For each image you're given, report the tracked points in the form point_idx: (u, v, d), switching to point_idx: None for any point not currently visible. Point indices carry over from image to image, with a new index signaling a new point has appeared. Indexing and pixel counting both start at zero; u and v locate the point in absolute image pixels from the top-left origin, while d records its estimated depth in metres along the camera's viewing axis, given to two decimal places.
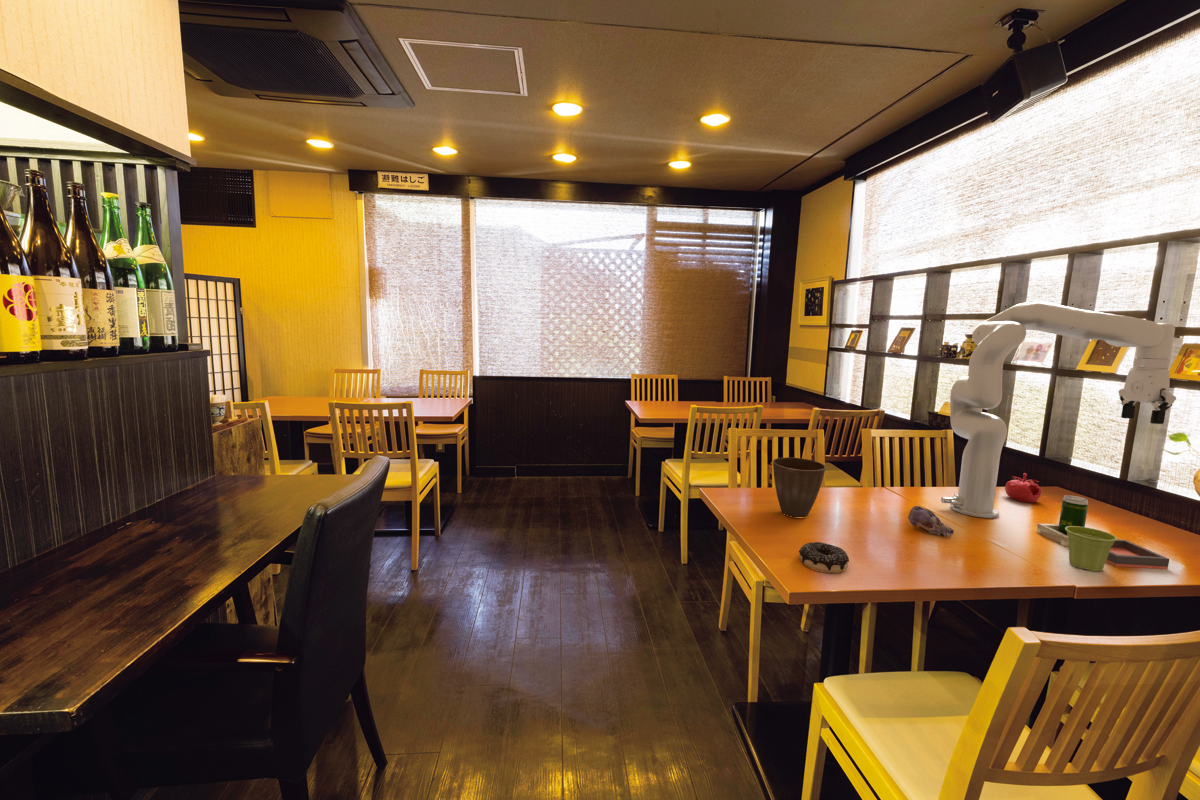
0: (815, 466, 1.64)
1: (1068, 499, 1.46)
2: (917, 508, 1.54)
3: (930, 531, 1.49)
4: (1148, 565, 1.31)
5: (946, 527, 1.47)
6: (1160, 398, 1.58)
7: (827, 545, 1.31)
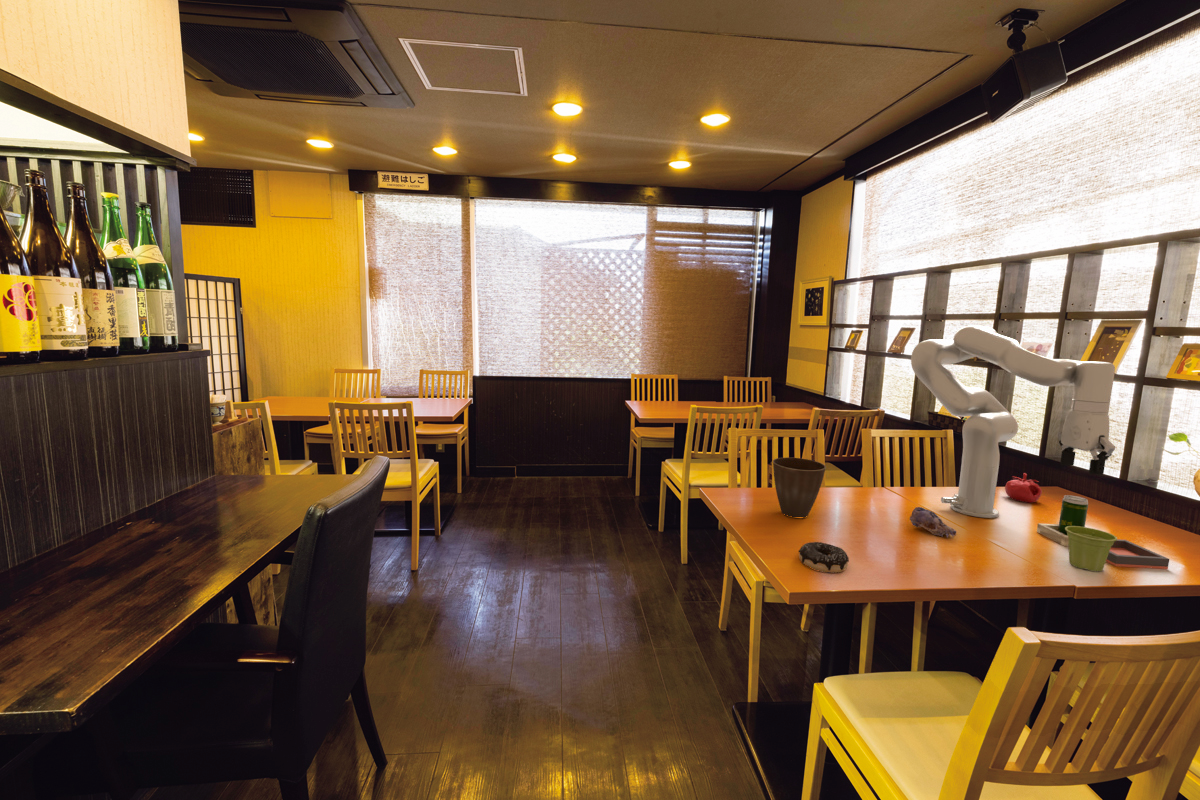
0: (815, 466, 1.64)
1: (1068, 499, 1.46)
2: (919, 510, 1.53)
3: (933, 532, 1.48)
4: (1148, 565, 1.31)
5: (949, 528, 1.47)
6: (1099, 446, 1.41)
7: (827, 545, 1.31)
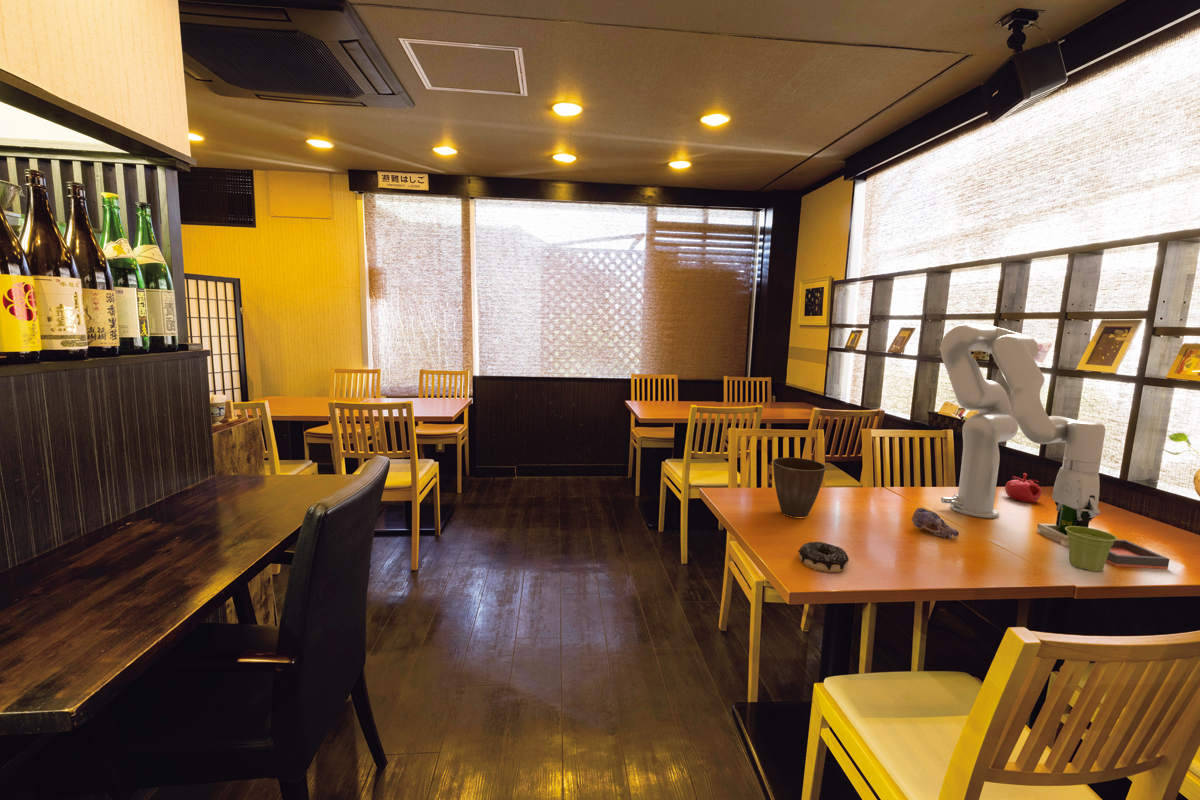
0: (815, 466, 1.64)
1: None
2: (921, 511, 1.52)
3: (935, 533, 1.48)
4: (1148, 565, 1.31)
5: (951, 529, 1.46)
6: (1087, 506, 1.44)
7: (827, 545, 1.31)
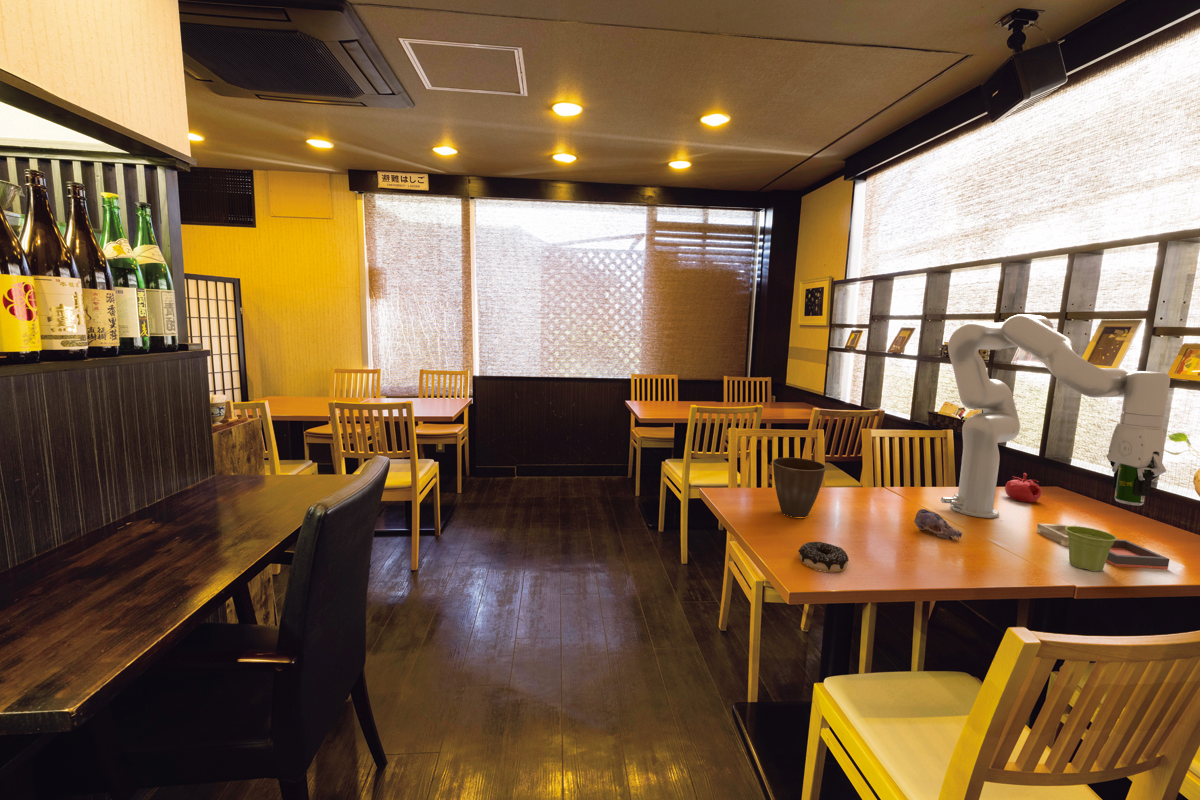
0: (815, 466, 1.64)
1: None
2: (924, 512, 1.51)
3: (938, 534, 1.47)
4: (1148, 565, 1.31)
5: (954, 530, 1.45)
6: (1150, 464, 1.31)
7: (827, 545, 1.31)
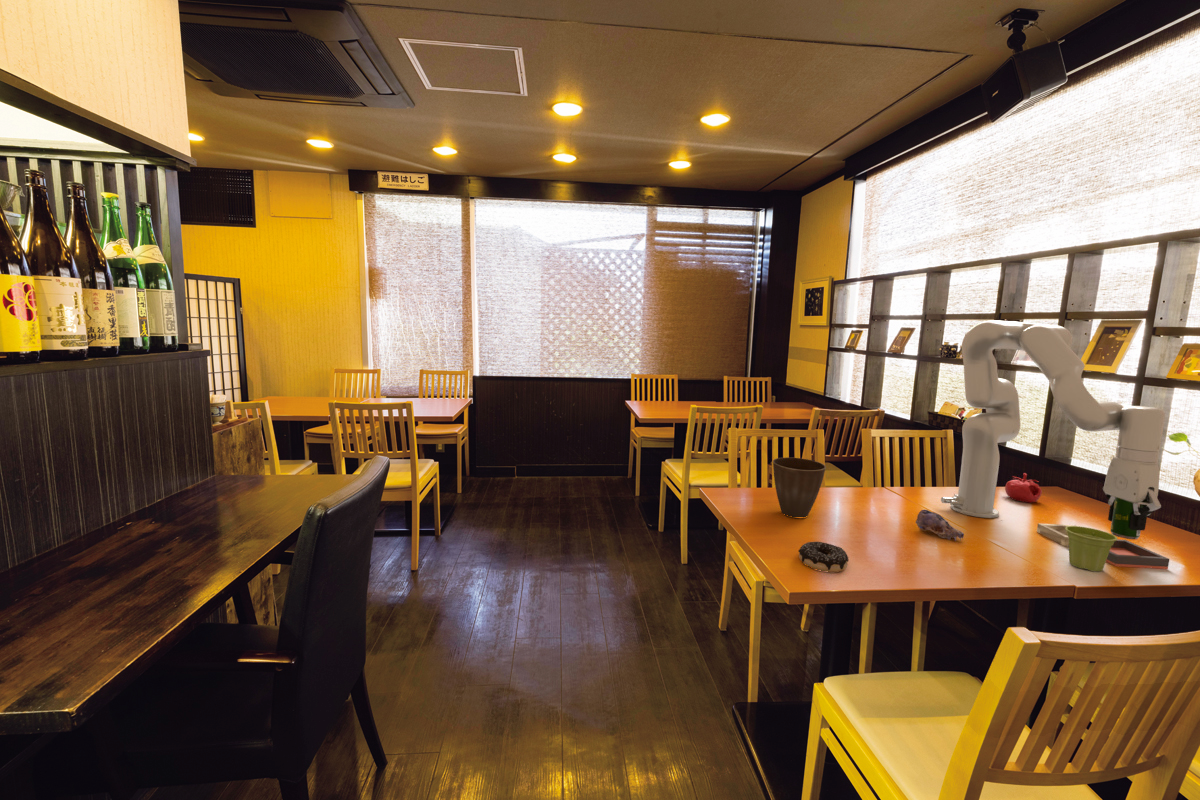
0: (815, 466, 1.64)
1: None
2: (925, 512, 1.51)
3: (940, 535, 1.46)
4: (1148, 565, 1.31)
5: (956, 531, 1.45)
6: (1145, 498, 1.32)
7: (827, 544, 1.31)
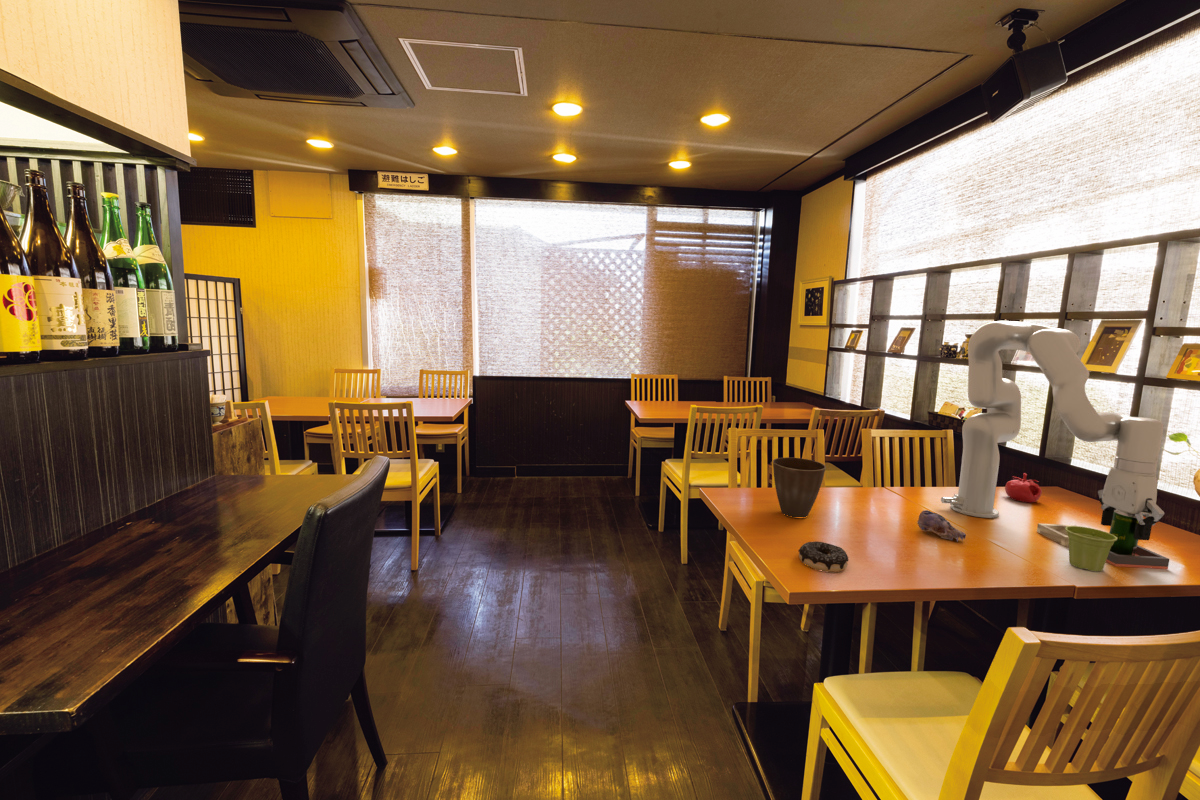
0: (815, 466, 1.64)
1: (1121, 511, 1.35)
2: (927, 513, 1.50)
3: (942, 536, 1.46)
4: (1148, 565, 1.31)
5: (958, 532, 1.44)
6: (1146, 509, 1.32)
7: (827, 544, 1.31)
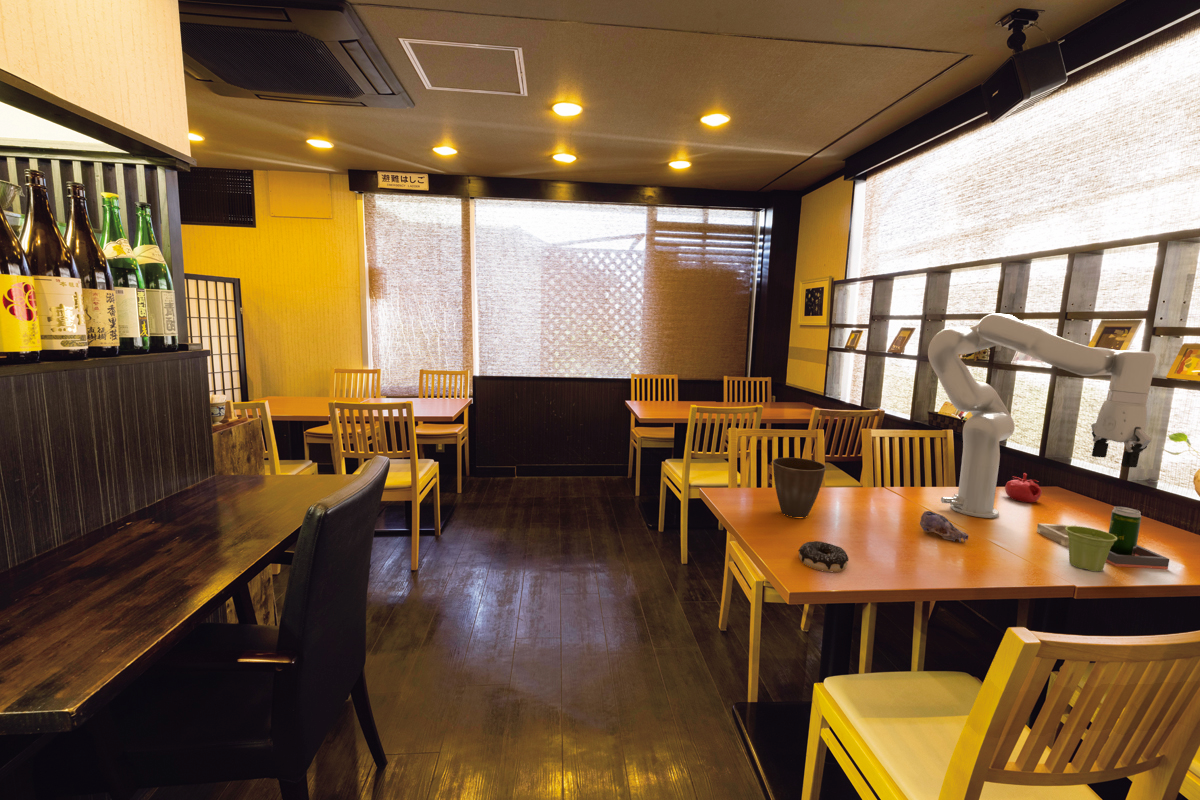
0: (815, 466, 1.64)
1: (1119, 511, 1.35)
2: (929, 514, 1.50)
3: (945, 537, 1.45)
4: (1148, 565, 1.31)
5: (961, 532, 1.44)
6: (1134, 438, 1.37)
7: (827, 544, 1.31)
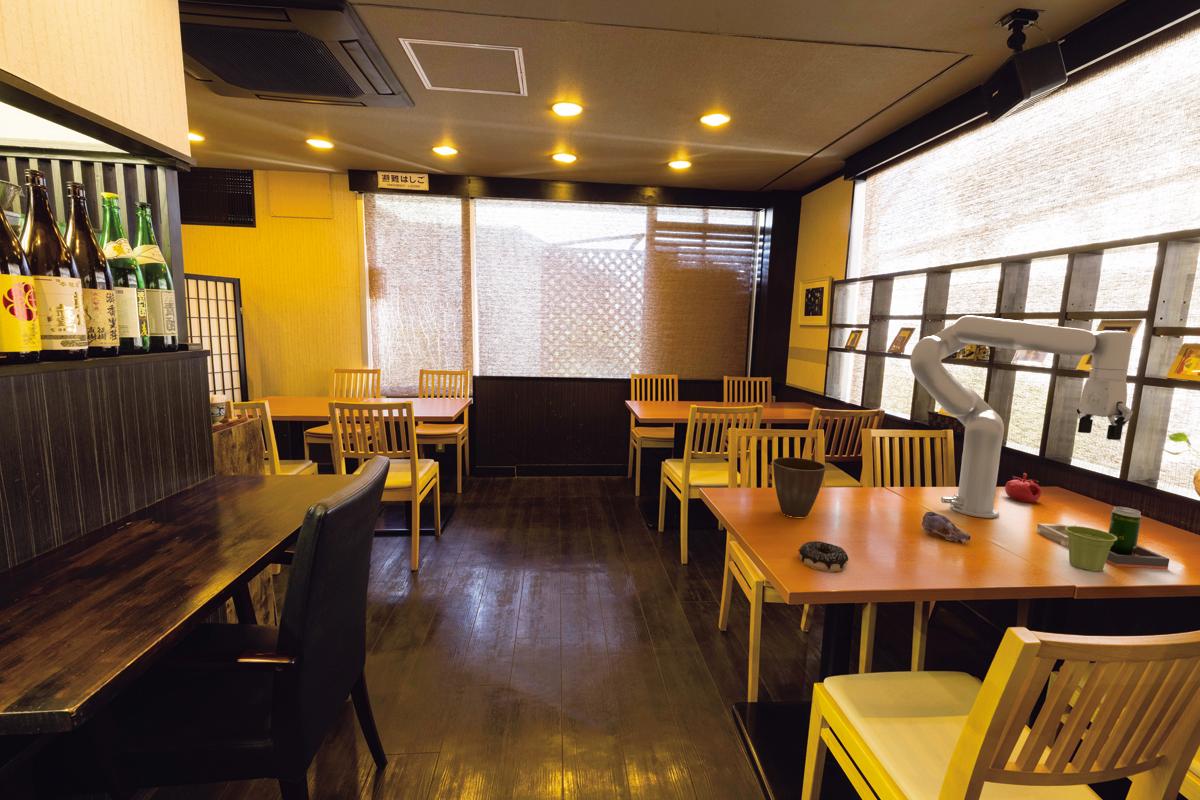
0: (815, 466, 1.64)
1: (1119, 511, 1.35)
2: (931, 514, 1.49)
3: (947, 538, 1.45)
4: (1148, 565, 1.31)
5: (963, 533, 1.43)
6: (1117, 412, 1.46)
7: (827, 544, 1.31)
